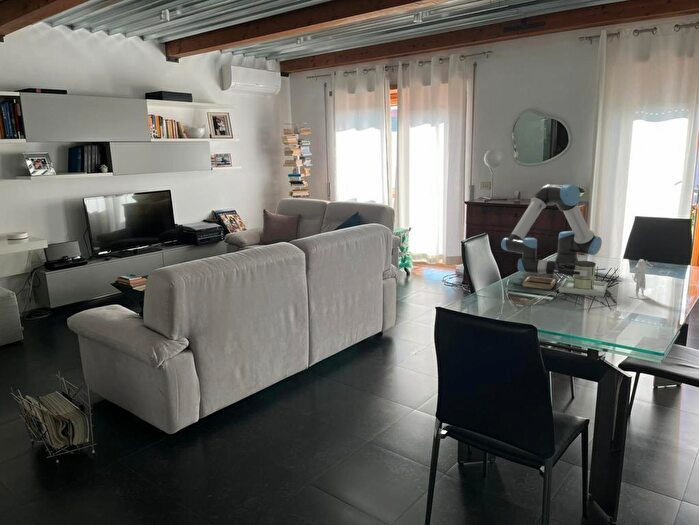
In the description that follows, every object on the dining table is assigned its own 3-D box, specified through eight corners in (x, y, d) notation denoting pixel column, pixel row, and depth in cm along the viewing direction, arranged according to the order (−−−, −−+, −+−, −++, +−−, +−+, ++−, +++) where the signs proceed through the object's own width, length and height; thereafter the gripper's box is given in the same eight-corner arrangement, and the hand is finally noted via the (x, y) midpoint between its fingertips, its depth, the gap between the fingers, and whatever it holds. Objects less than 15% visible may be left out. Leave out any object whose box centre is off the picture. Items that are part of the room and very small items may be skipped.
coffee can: (570, 285, 293) (572, 260, 290) (589, 285, 292) (591, 260, 289) (576, 290, 283) (578, 264, 280) (596, 290, 282) (598, 264, 279)
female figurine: (621, 299, 267) (625, 261, 263) (628, 292, 279) (632, 255, 275) (645, 303, 261) (649, 264, 256) (652, 296, 273) (656, 258, 268)
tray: (564, 282, 302) (565, 278, 302) (607, 286, 292) (607, 282, 291) (558, 291, 284) (559, 287, 283) (603, 296, 273) (604, 292, 272)
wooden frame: (528, 280, 309) (528, 276, 308) (555, 283, 301) (555, 278, 301) (522, 286, 296) (523, 282, 295) (550, 289, 289) (551, 285, 288)
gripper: (550, 269, 306) (590, 272, 296) (542, 278, 285) (585, 282, 275) (550, 256, 304) (591, 259, 294) (543, 265, 283) (586, 268, 273)
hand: (588, 270), depth 284 cm, fingers open, 13 cm apart
